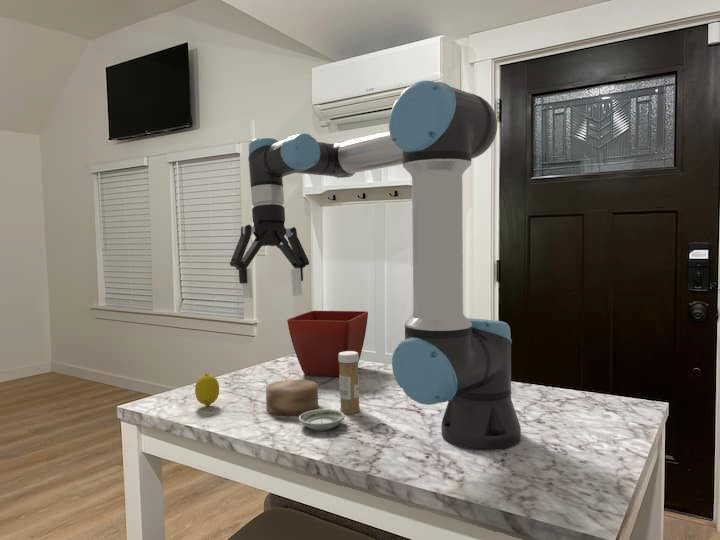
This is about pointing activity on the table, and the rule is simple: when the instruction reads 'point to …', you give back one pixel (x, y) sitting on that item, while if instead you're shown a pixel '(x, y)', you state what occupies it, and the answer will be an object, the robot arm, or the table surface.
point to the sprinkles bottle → (349, 381)
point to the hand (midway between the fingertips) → (273, 297)
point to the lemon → (207, 389)
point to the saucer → (321, 419)
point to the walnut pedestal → (291, 397)
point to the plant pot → (326, 338)
